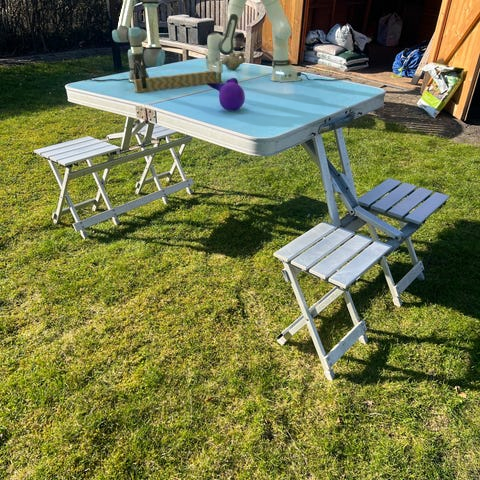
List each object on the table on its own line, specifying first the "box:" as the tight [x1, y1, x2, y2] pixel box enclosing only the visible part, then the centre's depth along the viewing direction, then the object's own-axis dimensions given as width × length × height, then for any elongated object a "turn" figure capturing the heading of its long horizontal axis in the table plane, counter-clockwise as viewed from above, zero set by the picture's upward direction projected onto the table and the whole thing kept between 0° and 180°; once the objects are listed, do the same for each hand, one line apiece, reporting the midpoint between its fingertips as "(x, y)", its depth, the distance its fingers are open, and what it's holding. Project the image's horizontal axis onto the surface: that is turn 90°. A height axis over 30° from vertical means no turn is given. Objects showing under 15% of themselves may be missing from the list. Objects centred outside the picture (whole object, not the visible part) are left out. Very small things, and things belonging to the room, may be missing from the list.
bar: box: [133, 70, 223, 94], centre depth 317 cm, size 64×4×8 cm, turn 119°
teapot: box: [221, 51, 245, 71], centre depth 369 cm, size 21×12×15 cm, turn 120°
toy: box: [205, 77, 246, 112], centre depth 259 cm, size 16×18×27 cm
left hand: (141, 86), depth 306 cm, fingers open, 13 cm apart
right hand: (215, 77), depth 329 cm, fingers closed on bar, 4 cm apart
